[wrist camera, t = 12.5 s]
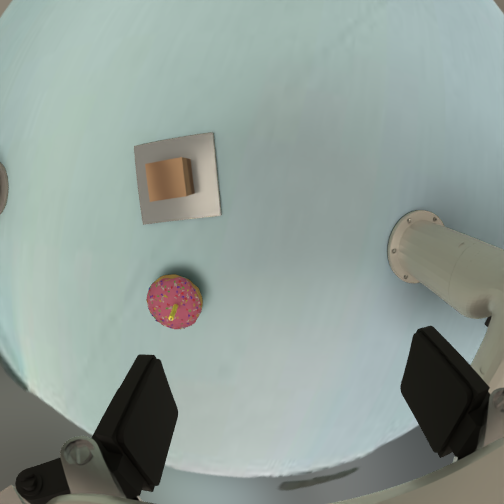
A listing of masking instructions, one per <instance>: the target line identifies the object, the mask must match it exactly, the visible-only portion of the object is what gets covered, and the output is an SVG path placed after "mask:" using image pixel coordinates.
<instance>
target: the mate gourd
mask: <svg viewBox="0 0 504 504" xmlns="http://www.w3.org/2000/svg"><path fill="white" fill-rule="evenodd" d="M7 198H8V177H7V173H6V170H5V168H4V166H3V164H2V163H1V162H0V214H1V213H2V212H3V210H4V208H5V206H6V203H7Z"/></svg>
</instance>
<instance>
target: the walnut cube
mask: <svg viewBox="0 0 504 504" xmlns="http://www.w3.org/2000/svg"><path fill="white" fill-rule="evenodd" d="M145 168H146V177H147V185H148V192H149V199H150V202H153V201H159V200H165V199H172V198H179V197H185V196H189V195H192V194H195V192H194V184H193V176H192V167H191V159H188V158H183V157H180V158H174V159H168V160H163V161H158V162H153V163H148V164H145Z"/></svg>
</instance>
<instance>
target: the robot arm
mask: <svg viewBox="0 0 504 504" xmlns="http://www.w3.org/2000/svg"><path fill="white" fill-rule="evenodd" d="M407 219H408V220H407ZM392 249H393V250H392ZM388 260H389V264H390V267H391V269H392V271H393V272H394V273H395V275H396V276H398V277H399V278H400V279H401V280H403V281H405V282H408V283H420V282H421V283H422V284H423V285H425V286H426V287H427V288H429V289H430V290H431V291H432V292H434V293H435V294H436V295H438V296H439V297H440V298H441V299H443V300H444V301H445V302H446V303H448V304H449V305H450V306H451V307H453V308H454V309H455V310H457V311H458V312H459V313H460V314H462V315H463V316H465V317H468V318H472V319H481V318H486V317H489V316H492V317H491V321H490V323H489V326H488V328H487V332H486V334H485V336H484V339H483V341H482V343H481V345H480V347H479V349H478V351H477V353H476V355H475V357H474V359H473V361H472V363H471V365H469V363H468V362H467V361H466V360H465V359H464V358H463V357H462V356H461V355H460V354H459V353H458V352H457V351H456V350H455V349H454V347H453V346H452V345H451V344H450V343H449V342H448V341H447V340H446V339H445V338H444V337H443V336H442V335H441V334H440V333H439V332H438V331H437V330H436V329H435V328H434V327H433V326H428V327H424V328H420V329H418V330H417V332H416V333H415V334H414V335H413V339H412V343H411V348H410V352H409V356H408V360H407V364H406V368H405V372H404V375H403V379H402V382H401V393H402V395H403V397H404V399H405V400H406V402H407V404H408V406H409V407H410V409H411V411H412V413H413V414H414V416H415V418H416V420H417V422H418V424H419V425H420V427H421V429H422V431H423V433H424V435H425V436H426V438H427V440H428V442H429V444H430V446H431V448H432V449H433V451H434V452H436V453H438V455H439V457H440V458H441V457H444V456H445V455H448V454H450V453H451V452H453V453H454V455H455V456H454V460H453V463H452V464H450V465H447V466H445V467H443V468H441V469H439V470H436V471H434V472H432V473H429V474H427V475H425V476H422V477H420V478H417V479H415V480H412V481H409V482H407V483H404V484H401V485H398V486H395V487H392V488H389V489H386V490H382V491H379V492H375V493H372V494H368V495H365V496H361V497H357V498H353V499H348V500H343V501H339V502H334V503H328V504H504V250H503V249H501V248H498V247H495V246H493V245H491V244H488V243H486V242H483V241H481V240H478V239H476V238H473V237H471V236H468V235H465V234H463V233H460V232H458V231H455V230H452V229H449V228H447V227H445V226H444V224H443V222H442V221H441V219H440V218H439V217H438V216H437V215H435V214H434V213H432V212H429V211H425V210H416V211H412V212H410V213H408V214H406V215H405V216H404V217H403V218H401V219H400V220H399V222H398V223H397V224H396V226H395V227H394V229H393V231H392V233H391V236H390V239H389V243H388ZM177 418H178V409H177V406H176V403H175V401H174V398H173V395H172V393H171V390H170V387H169V384H168V381H167V378H166V375H165V372H164V369H163V366H162V363H161V361H160V359H156V357H155V356H154V355H138V356H137V358H136V360H135V361H134V363H133V365H132V367H131V368H130V370H129V372H128V374H127V375H126V377H125V379H124V381H123V383H122V384H121V386H120V388H119V389H118V390H117V392H116V394H115V395H114V397H113V399H112V401H111V403H110V404H109V406H108V408H107V410H106V412H105V414H104V415H103V417H102V419H101V421H100V423H99V425H98V427H97V429H96V430H95V432H94V434H93V436H92V438H89V437H87V436H76V437H73V438H71V439H69V440H68V441H66V443H64V445H63V446H62V448H61V451H60V458H58V459H55V460H52V461H49V462H46V463H43V464H41V465H37V466H34V467H31V468H28V469H25V470H23V471H22V472H21V473H19V475H18V477H17V478H16V487H13V486H12V485H10V486H9V487H7V488H6V489H4V490H3V491H1V492H0V504H153V503H148V502H143V501H142V500H141V499H140V497H139V495H140V494H141V490H145V491H151V492H153V490H154V487H155V486H158V485H159V483H160V480H161V476H162V472H163V469H164V465H165V461H166V458H167V454H168V450H169V447H170V443H171V439H172V436H173V432H174V428H175V425H176V421H177Z"/></svg>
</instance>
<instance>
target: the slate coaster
mask: <svg viewBox="0 0 504 504" xmlns="http://www.w3.org/2000/svg"><path fill="white" fill-rule="evenodd" d="M134 153H135V165H136V174H137V184H138V192H139V200H140V207H141V214H142V221H143V225H144V224H152V223H160V222H168V221H176V220H185V219H194V218H204V217H213V216H221V215H222V213H221V203H220V194H219V184H218V174H217V164H216V153H215V143H214V133H213V132H211V133H204V134H197V135H190V136H184V137H178V138H172V139H167V140H162V141H156V142H151V143H147V144H142V145H137V146H134ZM180 157H183V158H188V159H191V167H192V176H193V184H194V192H195V194H192V195H189V196H185V197H179V198H172V199H165V200H159V201H153V202H150V199H149V192H148V185H147V177H146V168H145V164H148V163H153V162H158V161H163V160H168V159H174V158H180Z"/></svg>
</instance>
